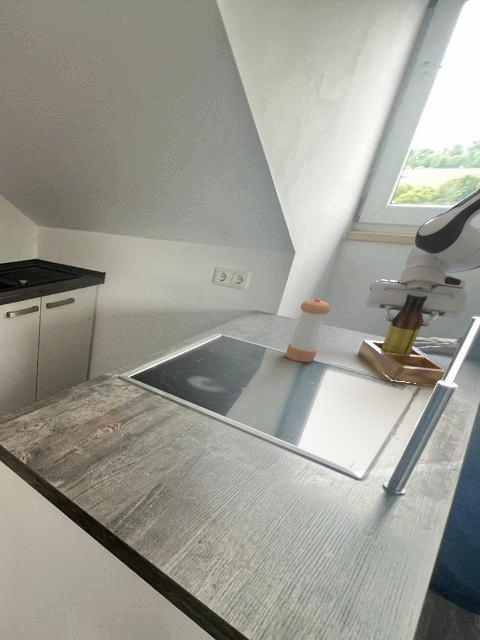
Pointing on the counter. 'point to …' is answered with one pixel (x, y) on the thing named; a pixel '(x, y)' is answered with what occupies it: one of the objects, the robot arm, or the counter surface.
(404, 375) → the wooden compartment tray
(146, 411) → the counter surface
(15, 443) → the counter surface
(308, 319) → the pepper shaker
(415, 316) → the sauce bottle
